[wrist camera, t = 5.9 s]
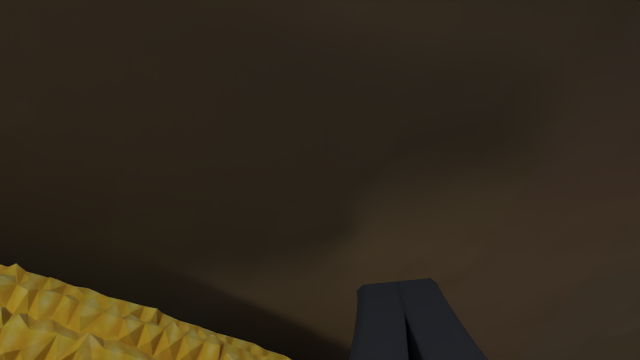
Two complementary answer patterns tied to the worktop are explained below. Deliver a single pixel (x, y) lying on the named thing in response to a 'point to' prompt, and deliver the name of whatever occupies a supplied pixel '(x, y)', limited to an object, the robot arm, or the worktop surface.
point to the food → (100, 326)
